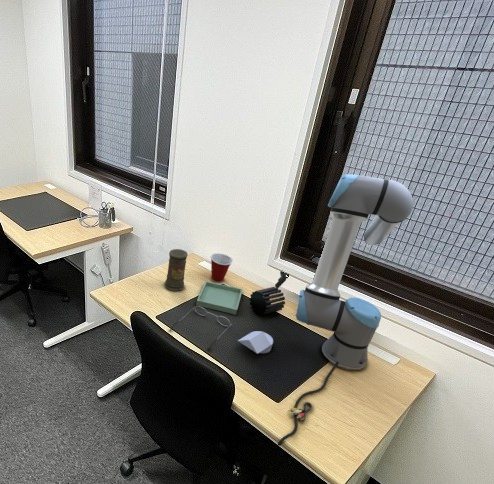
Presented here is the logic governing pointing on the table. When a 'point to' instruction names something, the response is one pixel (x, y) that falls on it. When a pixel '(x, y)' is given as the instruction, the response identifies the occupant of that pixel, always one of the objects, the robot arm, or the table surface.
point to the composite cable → (301, 411)
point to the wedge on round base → (257, 342)
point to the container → (176, 270)
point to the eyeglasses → (205, 315)
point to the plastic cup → (220, 266)
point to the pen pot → (266, 301)
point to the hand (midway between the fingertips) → (289, 292)
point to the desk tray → (219, 297)
